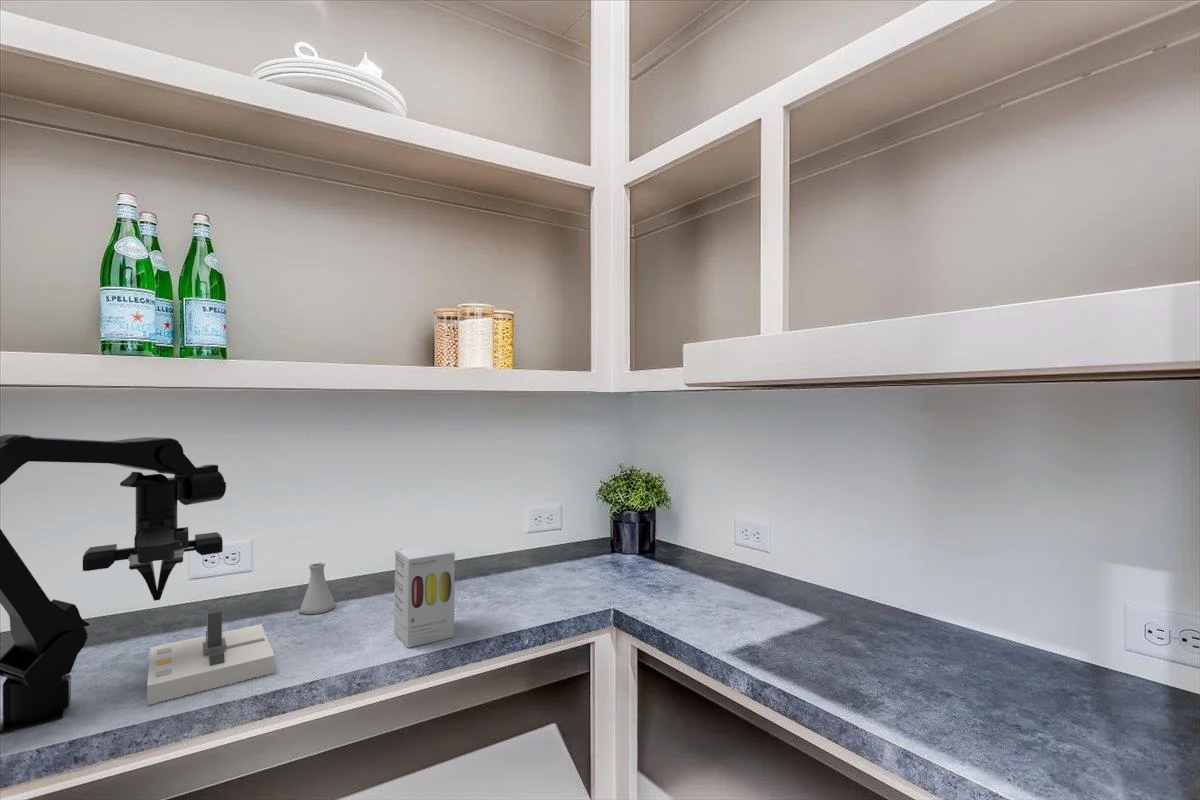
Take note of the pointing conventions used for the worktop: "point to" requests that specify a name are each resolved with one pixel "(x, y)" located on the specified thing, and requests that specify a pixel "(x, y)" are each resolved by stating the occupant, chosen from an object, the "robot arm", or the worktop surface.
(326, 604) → the flask
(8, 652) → the robot arm
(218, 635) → the handle
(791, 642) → the worktop surface
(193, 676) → the panel
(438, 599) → the supplement box
